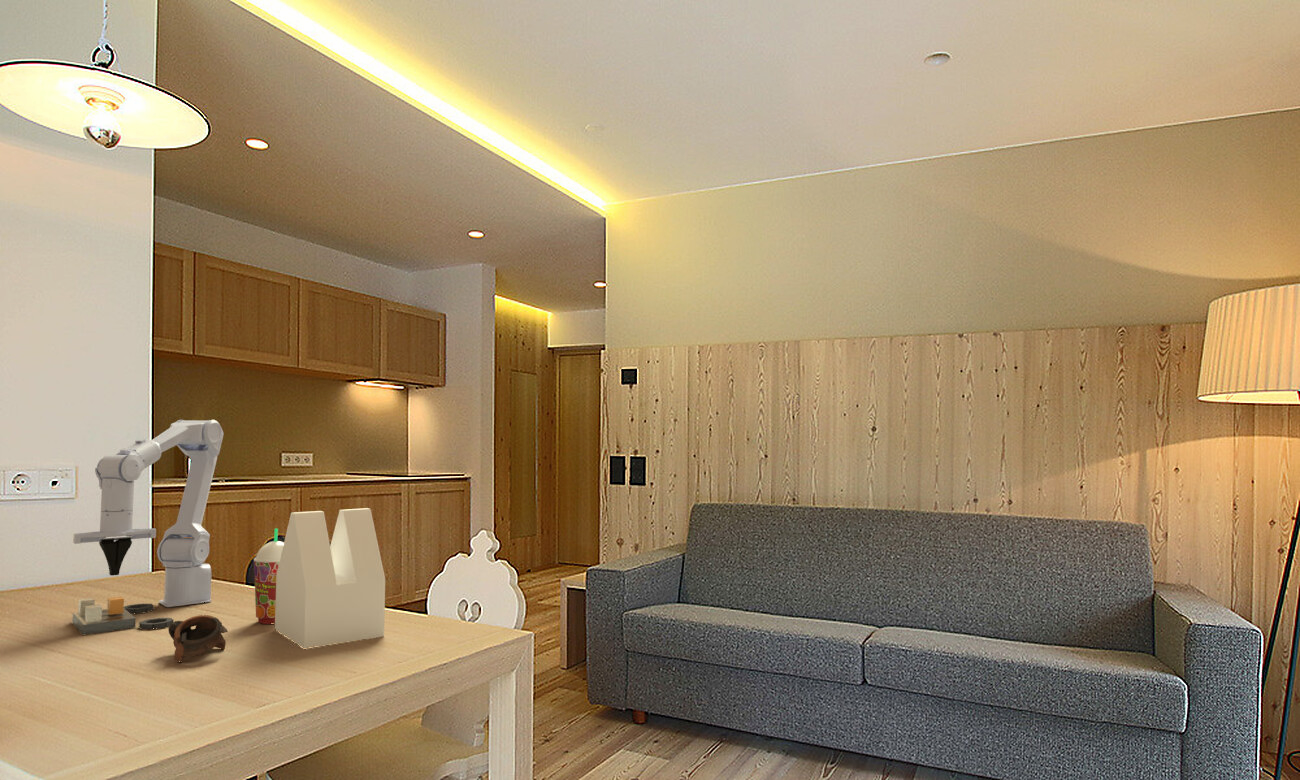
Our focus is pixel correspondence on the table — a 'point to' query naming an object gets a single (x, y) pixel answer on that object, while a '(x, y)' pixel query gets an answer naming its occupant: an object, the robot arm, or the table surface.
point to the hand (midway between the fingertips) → (114, 574)
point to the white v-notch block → (330, 580)
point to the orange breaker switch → (115, 605)
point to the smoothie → (267, 579)
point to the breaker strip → (107, 623)
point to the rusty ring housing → (196, 636)
